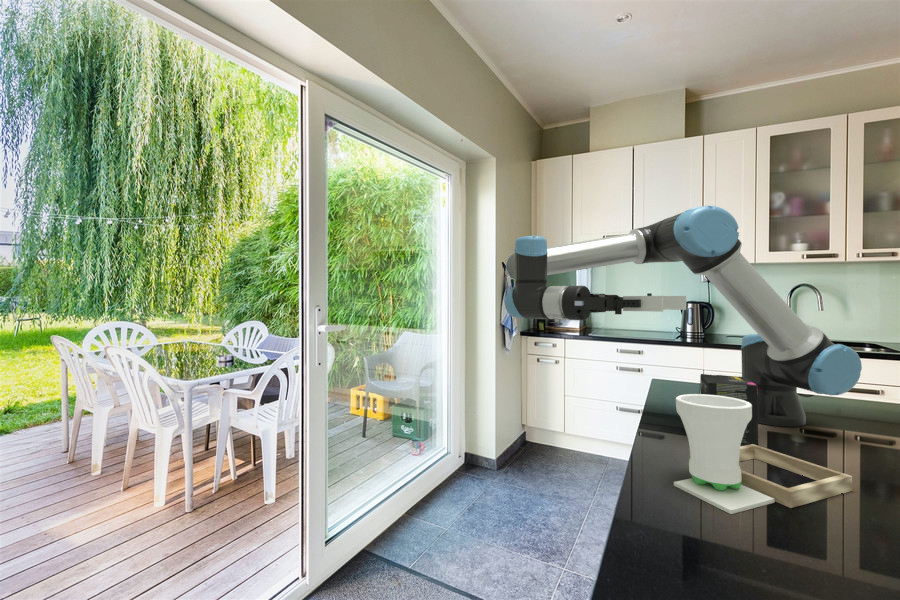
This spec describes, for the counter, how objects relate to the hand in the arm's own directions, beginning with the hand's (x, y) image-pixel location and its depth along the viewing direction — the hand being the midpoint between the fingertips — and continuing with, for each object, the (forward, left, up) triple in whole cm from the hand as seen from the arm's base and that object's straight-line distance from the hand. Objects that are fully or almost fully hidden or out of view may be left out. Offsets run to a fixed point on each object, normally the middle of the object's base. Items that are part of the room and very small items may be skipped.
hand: (675, 303), depth 73 cm
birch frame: (-16, +6, -32) cm, 36 cm away
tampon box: (-26, -9, -32) cm, 43 cm away
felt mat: (-2, +7, -32) cm, 33 cm away
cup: (-4, +5, -32) cm, 32 cm away
